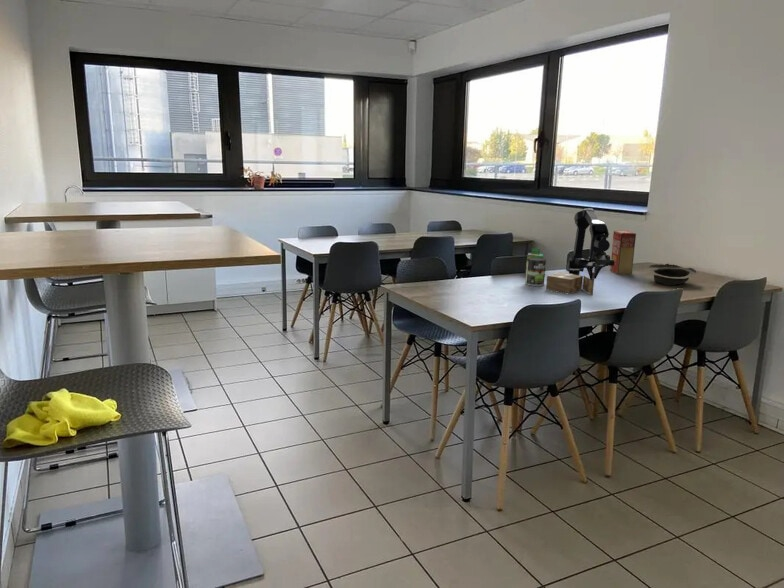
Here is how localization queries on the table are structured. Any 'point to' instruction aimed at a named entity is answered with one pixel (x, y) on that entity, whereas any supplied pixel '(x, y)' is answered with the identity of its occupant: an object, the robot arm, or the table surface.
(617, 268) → the food packaging
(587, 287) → the side flap
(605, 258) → the robot arm
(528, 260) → the coffee can
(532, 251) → the chalk box
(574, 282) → the carton
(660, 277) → the stone bowl
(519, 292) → the table surface
